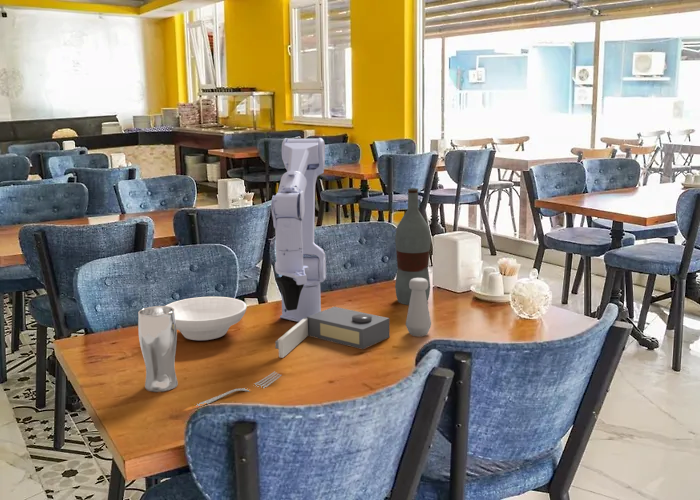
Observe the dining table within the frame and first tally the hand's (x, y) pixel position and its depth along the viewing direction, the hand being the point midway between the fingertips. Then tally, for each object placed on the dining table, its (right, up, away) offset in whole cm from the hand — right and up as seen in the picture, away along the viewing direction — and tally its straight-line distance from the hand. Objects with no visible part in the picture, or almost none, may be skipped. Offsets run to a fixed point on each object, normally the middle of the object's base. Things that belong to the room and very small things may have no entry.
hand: (291, 309), depth 161 cm
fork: (-10, -15, -25) cm, 31 cm away
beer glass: (-23, -13, -20) cm, 33 cm away
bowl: (-21, -7, +9) cm, 24 cm away
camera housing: (+12, -7, +8) cm, 16 cm away
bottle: (+29, -1, +35) cm, 46 cm away
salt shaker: (+29, -7, +9) cm, 31 cm away
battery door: (0, -8, +2) cm, 8 cm away
